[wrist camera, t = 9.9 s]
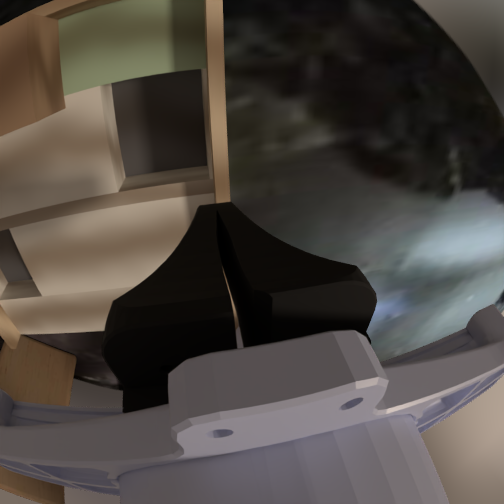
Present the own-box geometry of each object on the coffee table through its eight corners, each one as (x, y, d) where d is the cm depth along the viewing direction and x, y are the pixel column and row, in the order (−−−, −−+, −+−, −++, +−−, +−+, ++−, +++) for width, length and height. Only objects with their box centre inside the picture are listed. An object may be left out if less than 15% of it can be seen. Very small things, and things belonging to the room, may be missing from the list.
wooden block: (12, 363, 30) (-9, 484, 14) (8, 326, 26) (-27, 475, 10) (70, 385, 34) (62, 509, 18) (77, 354, 30) (64, 508, 14)
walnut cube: (65, 108, 13) (36, 122, 10) (-5, 134, 12) (-38, 155, 9) (58, 19, 10) (27, 12, 6) (-15, 55, 9) (-51, 61, 6)
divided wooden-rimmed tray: (230, 293, 28) (239, 333, 24) (23, 314, 25) (10, 348, 21) (214, -12, 13) (222, -34, 9) (-59, 86, 9) (-95, 100, 5)
